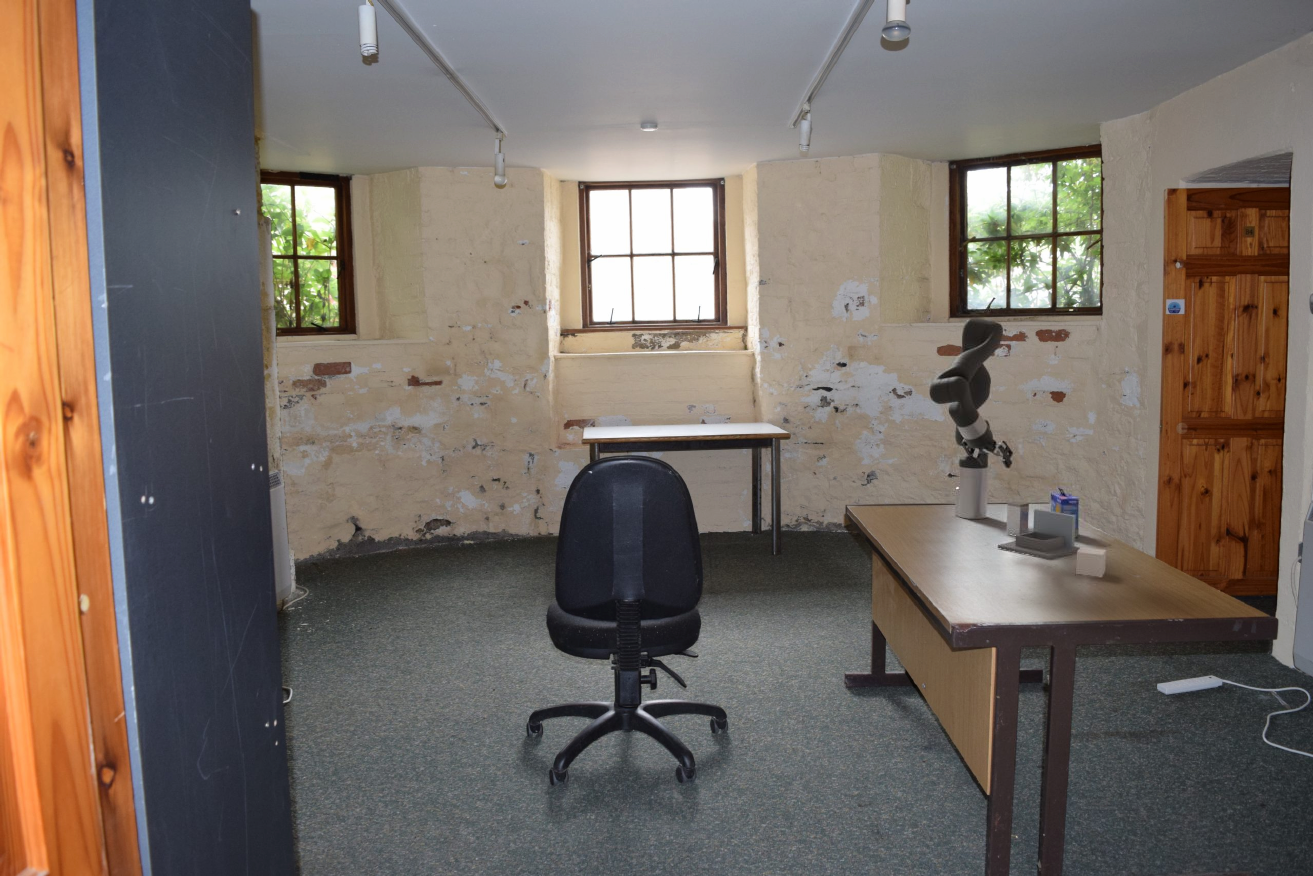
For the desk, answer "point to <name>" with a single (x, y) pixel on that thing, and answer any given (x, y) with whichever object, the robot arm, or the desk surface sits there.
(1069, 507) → the ink cartridge box
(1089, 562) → the white cube
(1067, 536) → the dock
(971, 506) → the robot arm
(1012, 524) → the tall gray block
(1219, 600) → the desk surface
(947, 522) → the desk surface
